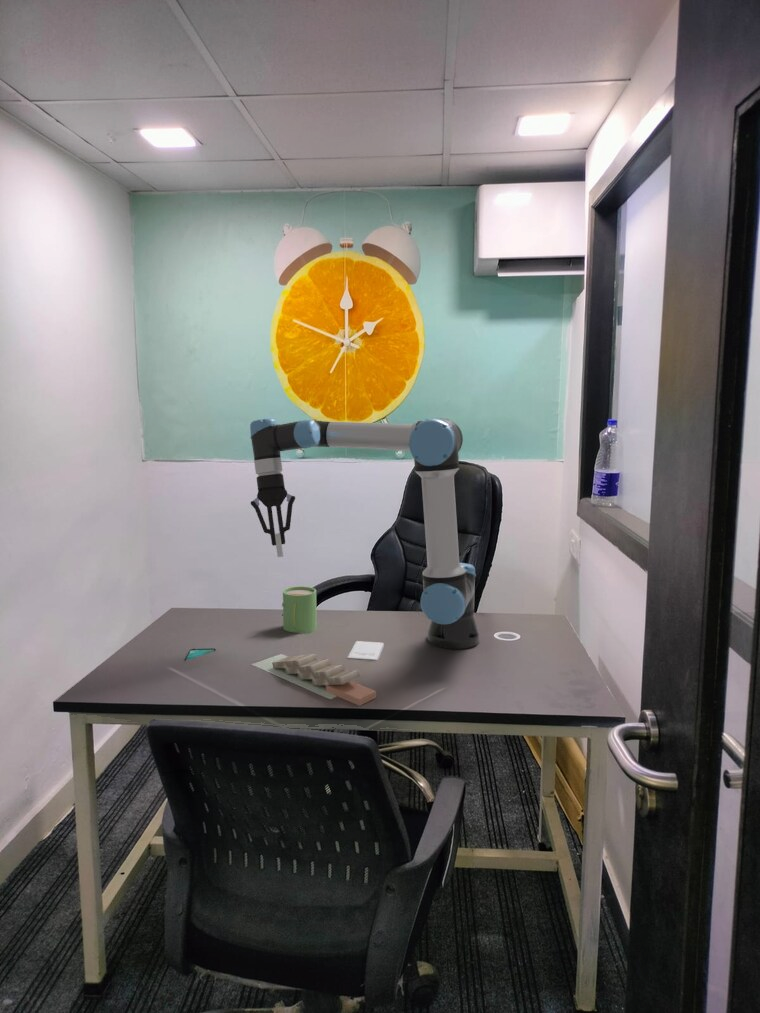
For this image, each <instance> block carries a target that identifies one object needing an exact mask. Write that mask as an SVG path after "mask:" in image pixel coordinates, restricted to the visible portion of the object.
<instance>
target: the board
mask: <svg viewBox="0 0 760 1013" xmlns="http://www.w3.org/2000/svg"><path fill="white" fill-rule="evenodd" d="M286 657H289V656H287V655H285V654H283V653H280V654H277V655H275V656H271V657H269V658H265V659H263V660H260V661H258V662H253V663H251V665H252V666H253V667H256V668H258V669H260V670H263V671H265V672H268V673H270V674H271V675H274V676H276V677H279V678H281V679H284V680H285V681H288V682H290V683H292V684H294V685H297V686H299V687H302V688H304V689H306V690H308V691H310V692H313V693H315V694H317V695H319V696H321V697H323V698H326V699H328V700H333V699H335V698H338V696H335V695H333V694H331V693H329V692H326V685H315V686H313V683H312V679H304V680H299V677H298V673H295V674H286V672H285V668H276V669H273V664H272V662H275V661H278V660H281V659H283V658H286Z"/></svg>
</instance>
